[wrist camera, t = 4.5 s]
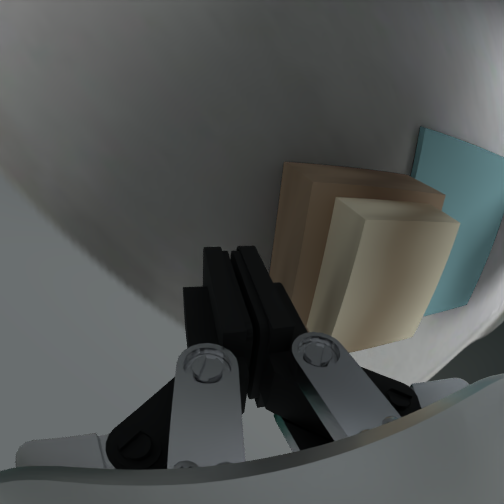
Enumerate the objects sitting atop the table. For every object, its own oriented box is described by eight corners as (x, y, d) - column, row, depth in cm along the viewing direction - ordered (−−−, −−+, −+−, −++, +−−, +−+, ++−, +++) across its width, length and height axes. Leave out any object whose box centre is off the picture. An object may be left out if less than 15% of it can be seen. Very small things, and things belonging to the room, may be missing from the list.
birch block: (429, 203, 12) (460, 222, 10) (391, 311, 15) (412, 337, 13) (335, 197, 10) (365, 219, 9) (306, 325, 13) (323, 358, 12)
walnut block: (407, 174, 14) (445, 195, 12) (375, 285, 18) (402, 316, 15) (283, 161, 12) (312, 182, 10) (266, 296, 16) (283, 336, 13)
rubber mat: (513, 162, 16) (517, 163, 15) (463, 302, 22) (466, 304, 22) (420, 126, 13) (425, 127, 13) (364, 324, 19) (366, 328, 19)
